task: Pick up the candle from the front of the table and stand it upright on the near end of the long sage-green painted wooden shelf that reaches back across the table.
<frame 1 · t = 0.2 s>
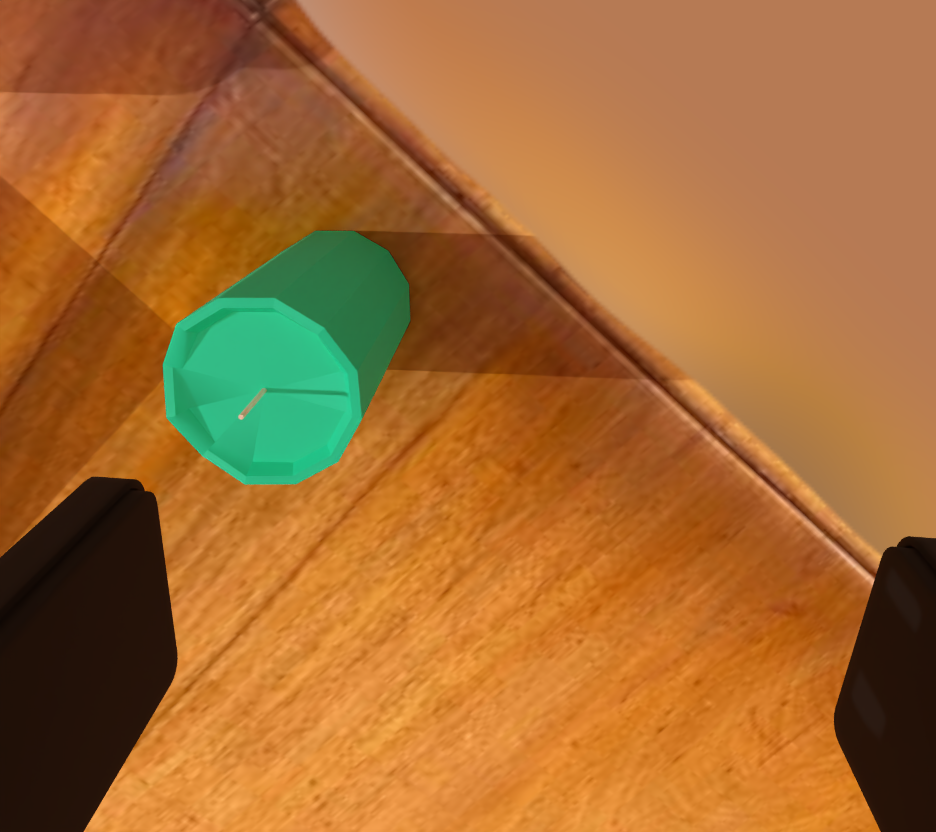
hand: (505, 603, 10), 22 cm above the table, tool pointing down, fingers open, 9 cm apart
candle: (341, 300, 32), on the table
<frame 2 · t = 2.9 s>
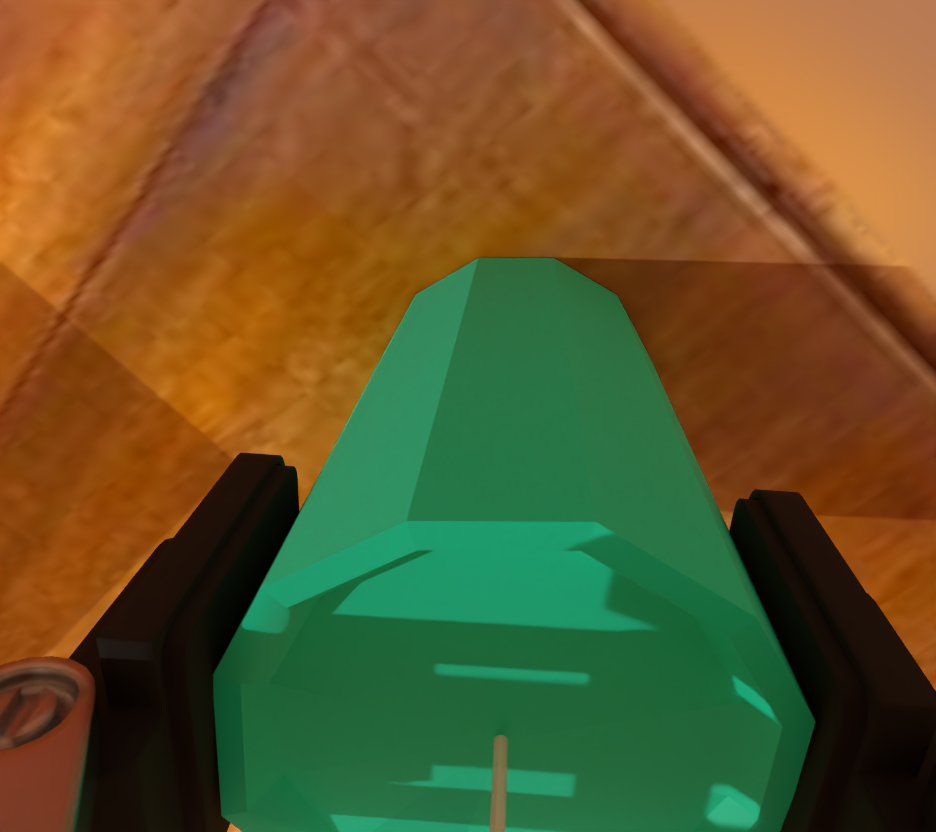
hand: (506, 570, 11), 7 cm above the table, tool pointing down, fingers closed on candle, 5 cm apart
candle: (514, 385, 17), on the table, touching gripper
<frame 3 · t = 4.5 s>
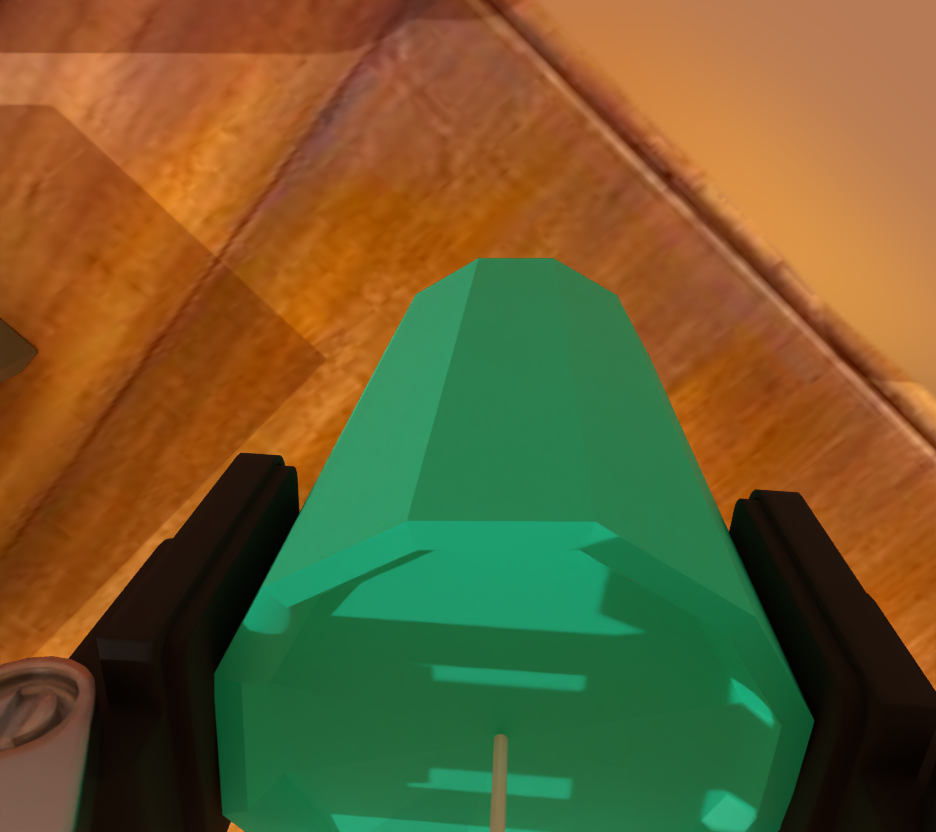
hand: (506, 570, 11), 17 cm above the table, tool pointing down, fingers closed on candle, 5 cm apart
candle: (514, 385, 17), point 10 cm above the table, touching gripper
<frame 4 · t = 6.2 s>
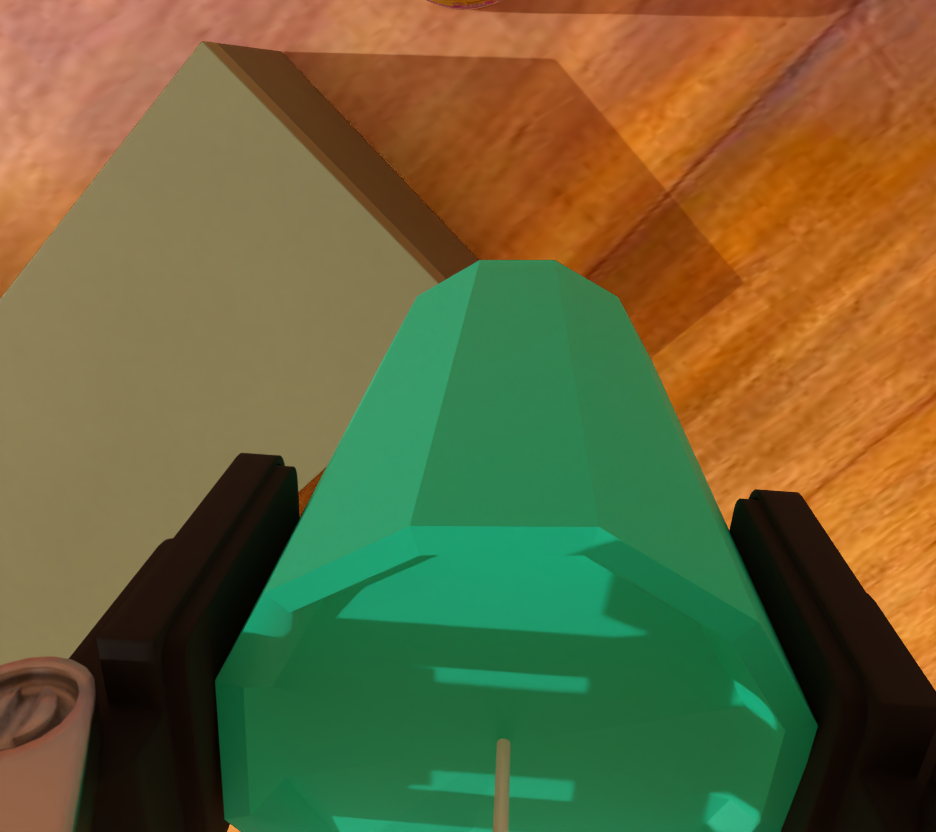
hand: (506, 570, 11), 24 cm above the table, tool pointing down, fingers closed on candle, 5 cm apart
shelf: (186, 382, 36), on the table
candle: (515, 387, 17), point 17 cm above the table, touching gripper
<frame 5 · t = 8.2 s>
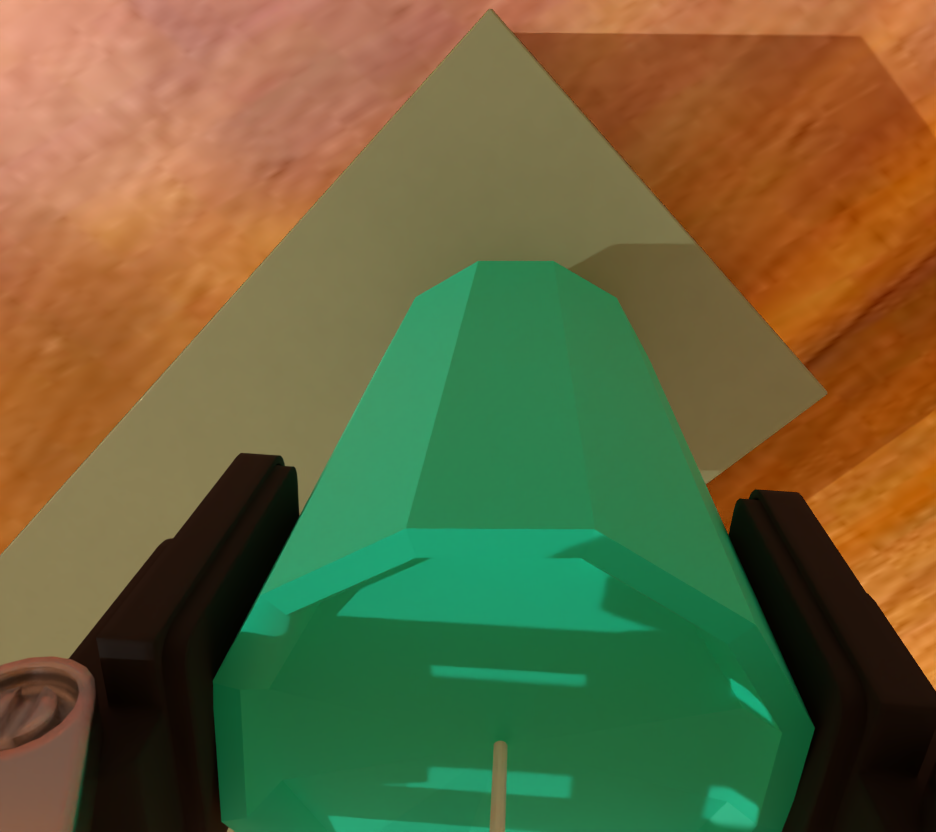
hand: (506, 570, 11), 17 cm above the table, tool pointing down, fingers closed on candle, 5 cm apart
shelf: (346, 444, 29), on the table
candle: (514, 387, 17), point 10 cm above the table, touching gripper
when the fingers open (15 cm above the table, at t = 9.4 s): candle stays where it is, resting on shelf.
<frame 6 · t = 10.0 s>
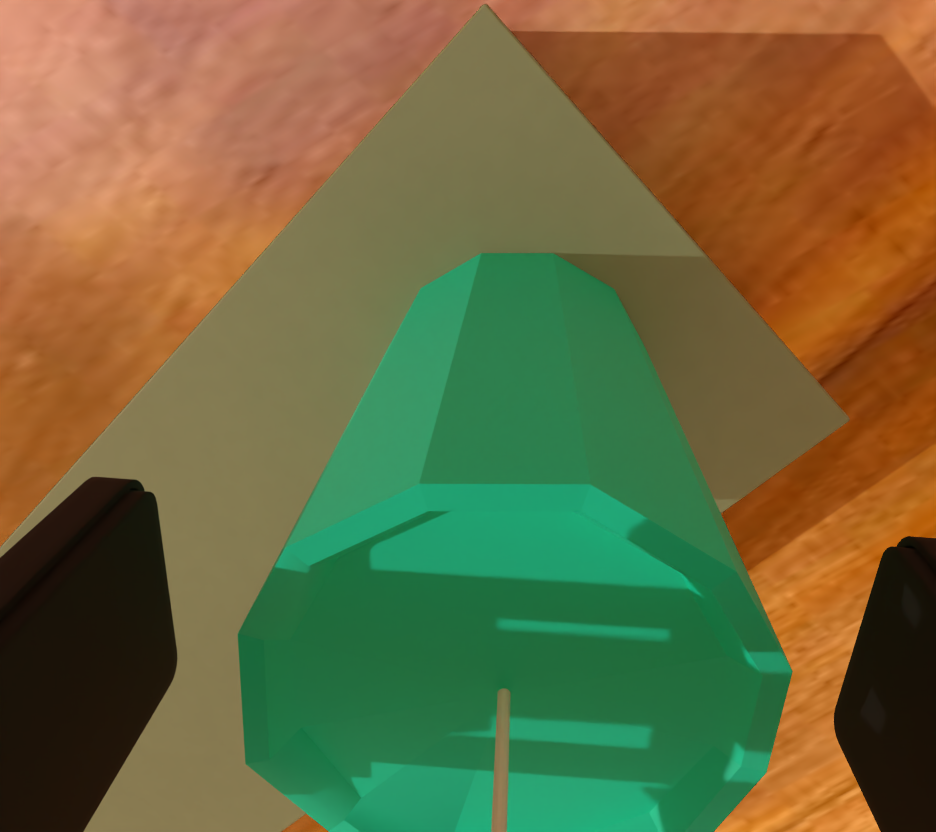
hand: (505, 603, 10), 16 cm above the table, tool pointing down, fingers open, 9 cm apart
shelf: (336, 463, 28), on the table
candle: (515, 376, 18), point 8 cm above the table, touching shelf
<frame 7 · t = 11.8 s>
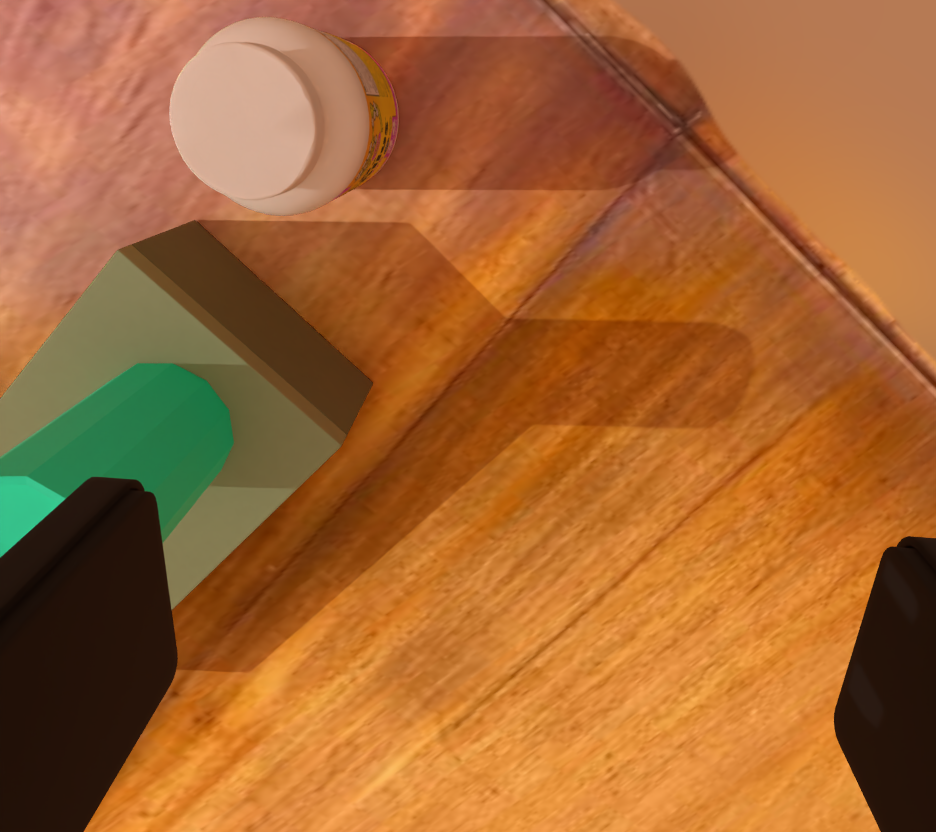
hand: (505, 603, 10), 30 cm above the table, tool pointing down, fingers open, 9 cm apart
shelf: (133, 472, 44), on the table
supplement bottle: (332, 115, 36), on the table
candle: (168, 424, 34), point 8 cm above the table, touching shelf
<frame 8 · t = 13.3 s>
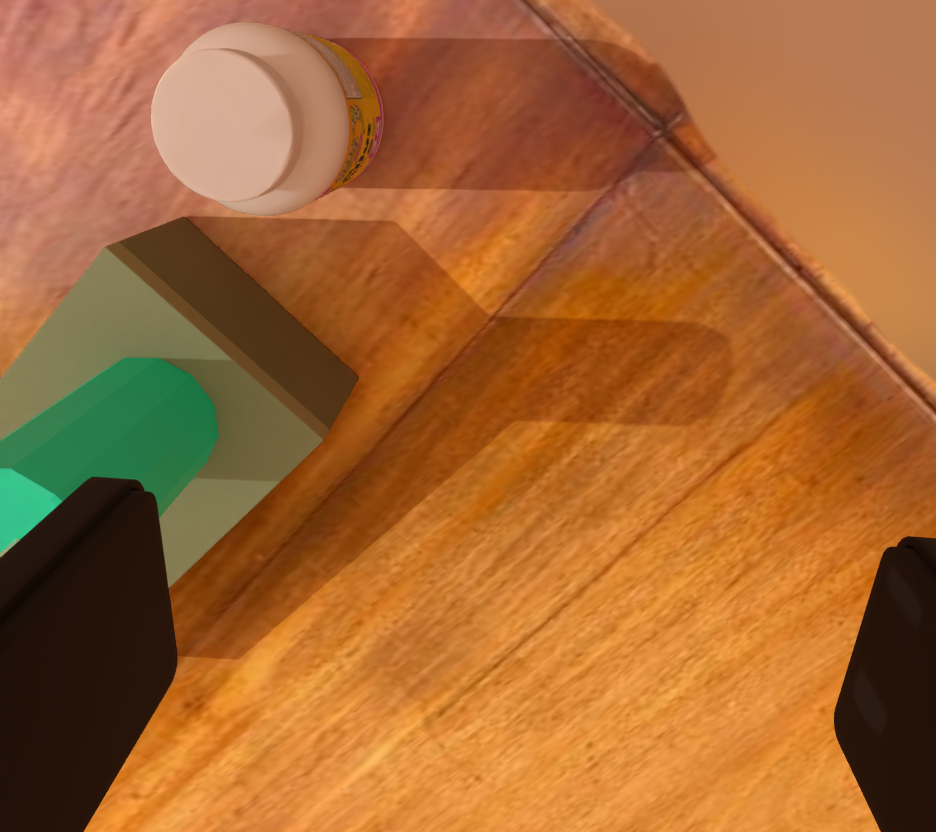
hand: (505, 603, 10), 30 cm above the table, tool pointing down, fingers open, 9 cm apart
shelf: (124, 462, 45), on the table
supplement bottle: (319, 114, 37), on the table
candle: (155, 417, 35), point 8 cm above the table, touching shelf
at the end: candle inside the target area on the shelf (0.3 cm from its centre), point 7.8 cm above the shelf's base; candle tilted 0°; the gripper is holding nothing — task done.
